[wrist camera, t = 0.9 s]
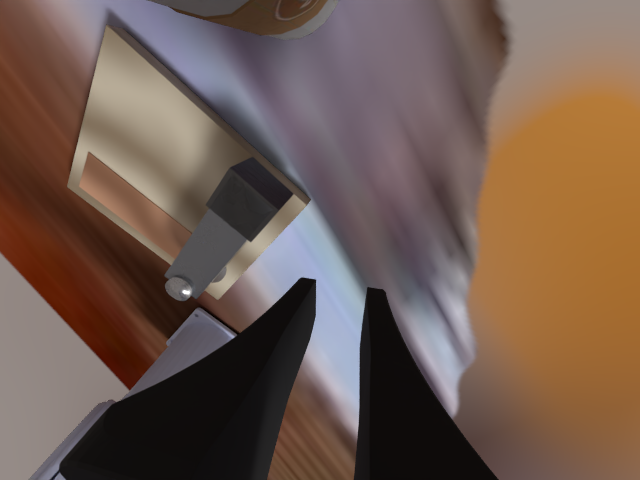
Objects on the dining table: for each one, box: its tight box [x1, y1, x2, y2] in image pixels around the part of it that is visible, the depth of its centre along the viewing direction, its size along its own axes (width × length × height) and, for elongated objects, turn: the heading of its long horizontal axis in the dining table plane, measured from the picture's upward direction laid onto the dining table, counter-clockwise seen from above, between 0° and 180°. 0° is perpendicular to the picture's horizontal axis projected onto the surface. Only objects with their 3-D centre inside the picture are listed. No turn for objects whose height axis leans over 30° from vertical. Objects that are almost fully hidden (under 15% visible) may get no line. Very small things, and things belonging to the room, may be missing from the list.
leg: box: [164, 157, 294, 301], centre depth 19 cm, size 12×4×3 cm, turn 139°
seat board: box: [67, 25, 311, 300], centre depth 21 cm, size 14×16×1 cm
